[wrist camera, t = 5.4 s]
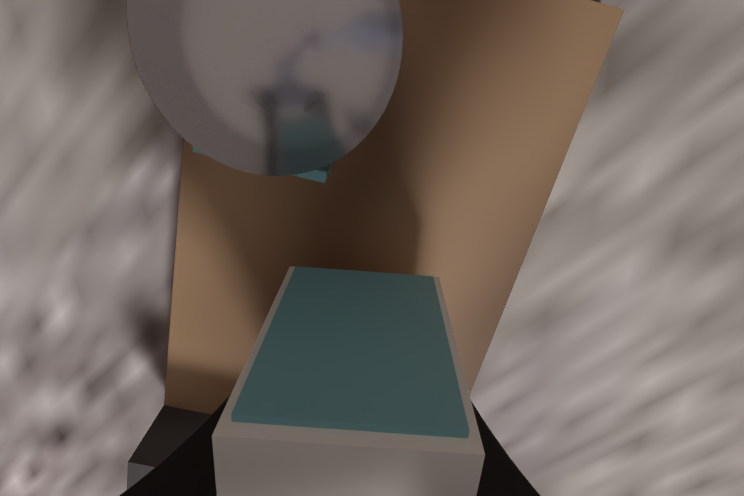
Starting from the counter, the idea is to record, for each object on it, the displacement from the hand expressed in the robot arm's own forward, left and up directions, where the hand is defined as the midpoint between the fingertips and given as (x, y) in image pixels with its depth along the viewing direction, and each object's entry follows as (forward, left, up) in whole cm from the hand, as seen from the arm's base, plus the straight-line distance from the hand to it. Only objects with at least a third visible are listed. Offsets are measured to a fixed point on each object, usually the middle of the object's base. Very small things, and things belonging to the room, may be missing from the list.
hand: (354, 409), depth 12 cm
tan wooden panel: (+1, -3, -4) cm, 5 cm away
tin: (+3, -8, -3) cm, 9 cm away
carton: (0, 0, -2) cm, 2 cm away
